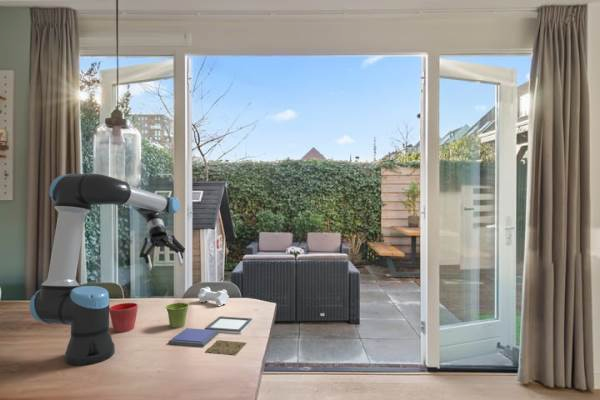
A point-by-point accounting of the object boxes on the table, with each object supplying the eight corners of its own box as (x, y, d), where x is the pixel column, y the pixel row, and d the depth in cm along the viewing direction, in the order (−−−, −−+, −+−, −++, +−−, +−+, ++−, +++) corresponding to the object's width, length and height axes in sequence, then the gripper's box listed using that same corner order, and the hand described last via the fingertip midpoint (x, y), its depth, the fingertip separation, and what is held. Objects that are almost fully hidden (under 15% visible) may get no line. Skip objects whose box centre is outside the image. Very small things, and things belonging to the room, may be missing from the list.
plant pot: (193, 325, 161) (193, 305, 161) (172, 331, 154) (172, 310, 154) (181, 320, 168) (181, 301, 168) (161, 326, 161) (161, 305, 161)
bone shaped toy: (229, 305, 194) (230, 289, 195) (217, 307, 187) (218, 291, 188) (208, 301, 202) (209, 285, 203) (196, 303, 195) (197, 287, 195)
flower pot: (105, 329, 157) (105, 306, 156) (131, 323, 165) (131, 301, 164) (115, 335, 149) (115, 311, 149) (142, 328, 157) (142, 305, 157)
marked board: (240, 334, 151) (240, 330, 151) (203, 331, 154) (203, 328, 154) (253, 321, 167) (253, 318, 167) (219, 318, 170) (219, 316, 170)
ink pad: (203, 346, 138) (203, 342, 138) (168, 344, 141) (168, 340, 141) (218, 333, 152) (218, 329, 152) (186, 331, 155) (186, 327, 155)
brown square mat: (247, 343, 143) (247, 341, 143) (235, 356, 131) (235, 354, 131) (218, 341, 145) (218, 338, 145) (203, 353, 133) (203, 351, 133)
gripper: (181, 233, 191) (191, 267, 180) (128, 237, 177) (136, 275, 165) (184, 223, 187) (195, 258, 175) (130, 227, 172) (138, 265, 161)
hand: (166, 266), depth 170 cm, fingers open, 13 cm apart
